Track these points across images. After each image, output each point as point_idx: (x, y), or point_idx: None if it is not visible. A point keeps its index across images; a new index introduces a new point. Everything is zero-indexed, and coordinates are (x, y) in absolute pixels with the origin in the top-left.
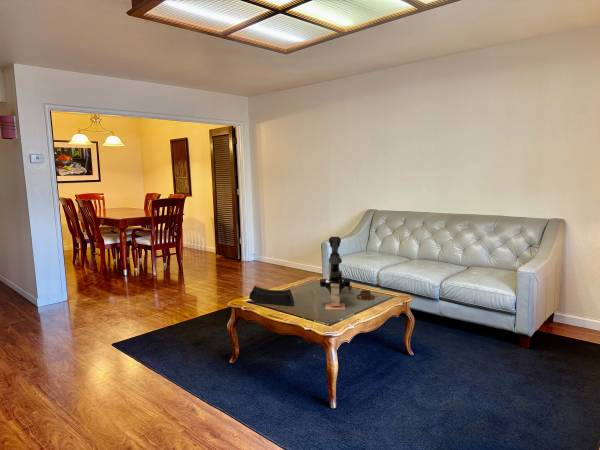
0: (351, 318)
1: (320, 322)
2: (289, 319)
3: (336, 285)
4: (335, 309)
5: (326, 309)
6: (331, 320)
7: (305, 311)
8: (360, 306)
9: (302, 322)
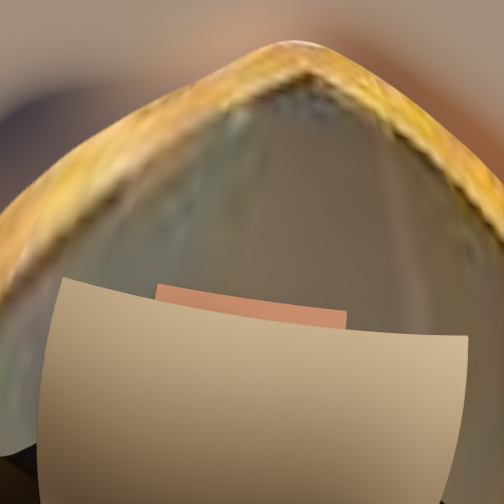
0: (175, 120)
1: (355, 104)
2: (485, 176)
3: (193, 311)
4: (251, 299)
5: (336, 310)
6: (300, 110)
7: (467, 286)
8: (29, 354)
9: (430, 128)
